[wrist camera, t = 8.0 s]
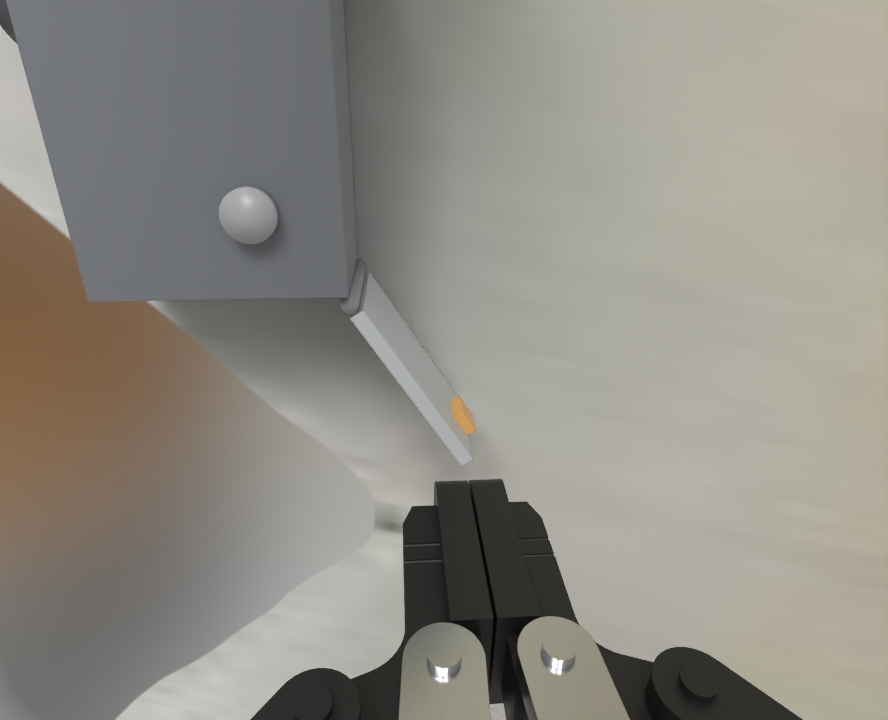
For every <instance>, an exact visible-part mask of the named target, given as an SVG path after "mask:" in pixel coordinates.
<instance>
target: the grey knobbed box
mask: <svg viewBox="0 0 888 720" xmlns="http://www.w3.org/2000/svg"><path fill="white" fill-rule="evenodd" d="M0 25H1V26H2V28H3V29H4V30H5V32H6V33H7V34H8V35H9V36H10V37H11V38H12V39H13V40H14V41H15V42H16V43H17V44H18V47H19V51H20V54H21V58H22V62H23V65H24V69H25V73H26V76H27V80H28V84H29V87H30V91H31V95H32V98H33V102H34V106H35V109H36V113H37V117H38V120H39V124H40V128H41V131H42V135H43V139H44V142H45V146H46V150H47V153H48V157H49V161H50V164H51V168H52V172H53V175H54V179H55V183H56V186H57V190H58V194H59V197H60V201H61V205H62V208H63V212H64V216H65V219H66V223H67V227H68V230H69V234H70V238H71V241H72V245H73V249H74V252H75V256H76V260H77V263H78V267H79V271H80V274H81V278H82V282H83V285H84V289H85V292H86V296H87V300H88V301H152V300H217V299H281V298H346V297H348V295H349V291H350V287H351V283H352V278H353V274H354V270H355V266H356V262H357V258H358V245H357V227H356V210H355V192H354V174H353V156H352V138H351V120H350V103H349V85H348V67H347V49H346V31H345V13H344V0H0Z"/></svg>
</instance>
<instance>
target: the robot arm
mask: <svg viewBox="0 0 888 720" xmlns="http://www.w3.org/2000/svg"><path fill="white" fill-rule="evenodd" d="M403 560H404V607H405V634H404V639H403V641H402V643H401V646H400V647H399V649H398V650H397V652H396V653H395V654H394V655H393V657H392V658H391V659H390V660H388V661H387V662H386V663H385V664H383V665H382V666H380V667H379V668H377V669H375V670H372V671H370V672H368V673H365V674H363V675H360V676H358V677H355V678H353V679H349V678H348V677H347V676H346V675H344V674H343V673H341V672H339V671H336V670H333V669H327V668H317V669H311V670H308V671H305V672H302V673H300V674H298V675H296V676H294V677H293V678H292V679H290V680H289V681H288V682H286V683H285V684H284V685H283V686H282V687H281V688H280V689H279V690H278V691H277V692H276V693H275V694H274V696H273V697H272V698H271V699H270V700H269V701H268V702H267V703H266V704H265V705H264V706H263V707H262V708H261V709H260V710H259V711H258V712H257V713H256V714H255V716H254V717H253V718H252V719H251V720H491V718H490V706H489V704H496V703H504V708H505V714H506V719H507V720H802V719H801V718H800V717H798V716H797V715H795V714H794V713H792V712H791V711H789V710H788V709H787V708H785V707H784V706H782V705H781V704H779V703H778V702H777V701H775V700H774V699H772V698H771V697H769V696H768V695H766V694H765V693H764V692H762V691H761V690H759V689H758V688H756V687H755V686H753V685H752V684H751V683H749V682H748V681H746V680H745V679H743V678H742V677H741V676H739V675H738V674H736V673H735V672H733V671H732V670H730V669H729V668H728V667H726V666H725V665H723V664H722V663H720V662H719V661H717V660H716V659H714V658H713V657H711V656H710V655H708V654H706V653H704V652H701V651H699V650H696V649H692V648H687V647H674V648H670V649H667V650H665V651H663V652H661V653H660V654H659V655H658V656H657V658H656V659H655V661H654V662H650V661H646V660H642V659H638V658H634V657H630V656H626V655H622V654H618V653H615V652H612V651H610V650H608V649H606V648H604V647H602V646H601V645H599V644H598V643H596V642H595V641H594V639H593V638H592V637H591V635H590V634H589V633H588V632H587V631H586V630H585V629H584V628H582V627H581V626H580V625H579V623H578V622H577V619H576V617H575V614H574V611H573V609H572V606H571V603H570V600H569V597H568V594H567V591H566V588H565V585H564V582H563V579H562V576H561V573H560V570H559V567H558V564H557V561H556V558H555V557H554V554H553V550H552V547H551V544H550V541H549V540H548V535H547V532H546V529H545V526H544V523H543V520H542V518H541V517H540V515H539V514H538V513H537V512H536V511H535V510H534V509H533V508H532V507H531V506H530V505H529V503H528V502H509V501H508V497H507V494H506V490H505V486H504V483H503V481H502V479H490V480H469V483H468V481H440V482H435V483H434V506H412V508H411V510H410V511H409V513H408V515H407V517H406V519H405V521H404V523H403Z"/></svg>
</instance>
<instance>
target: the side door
mask: <svg viewBox="0 0 888 720" xmlns="http://www.w3.org/2000/svg"><path fill="white" fill-rule="evenodd" d="M365 269H366V265H365V263H364V261H362V260H361V259H357V262H356V266H355V270H354V274H353V278H352V283H351V287H350V291H349V295H348V297H346V298H342V300H341V303H340V307H341V310H342V311H343V312H344V313H346V314H351V317H350V319H351V321H352V322H353V323H354V325H355V326H356V327H357V329H358V330H359V331H360V333H361V334H362V335H363V336H364V338H365V339H366V340H367V342H368V343H369V344H370V346H371V347H372V348H373V350H374V351H375V352H376V354H377V355H378V356H379V358H380V359H381V360H382V362H383V363H384V364H385V366H386V367H387V368H388V370H389V371H390V372H391V374H392V375H393V376H394V378H395V379H396V380H397V382H398V383H399V384H400V386H401V387H402V388H403V390H404V391H405V392H406V393H407V395H408V396H409V397H410V399H411V400H412V401H413V403H414V404H415V405H416V407H417V408H418V409H419V411H420V412H421V413H422V415H423V416H424V417H425V419H426V420H427V421H428V423H429V424H430V425H431V427H432V428H433V429H434V431H435V432H436V433H437V435H438V436H439V437H440V439H441V440H442V441H443V443H444V444H445V445H446V447H447V448H448V449H449V451H450V452H451V453H452V454H453V456H454V457H455V458H456V460H457V461H458V462H459V464H460V465H461V466H462V465H464V464H466V463H468V462H470V461H471V460H473V457H472V452H471V447H470V443H469V438H468V434H470V433H471V432H473V431H475V425H474V421H473V417H472V413H471V412H470V410H469V409H468V408H467V406H466V405H465V403H464V402H463V401H462V399H461V398H460V396H457V395H456V393H455V392H454V390H453V389H452V388H451V386H450V385H449V383H448V382H447V381H446V379H445V378H444V376H443V375H442V373H441V372H440V371H439V369H438V368H437V366H436V365H435V364H434V362H433V361H432V359H431V358H430V356H429V355H428V354H427V352H426V351H425V349H424V348H423V347H422V345H421V344H420V342H419V341H418V340H417V338H416V337H415V335H414V334H413V332H412V331H411V330H410V328H409V327H408V325H407V324H406V323H405V321H404V320H403V318H402V317H401V315H400V314H399V313H398V311H397V310H396V308H395V307H394V306H393V304H392V303H391V301H390V300H389V298H388V297H387V296H386V294H385V293H384V291H383V290H382V289H381V287H380V286H379V284H378V283H377V281H376V280H375V279H374V277H373V276H372V274H371V273H370V272H367V273H366V274H365Z"/></svg>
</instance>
